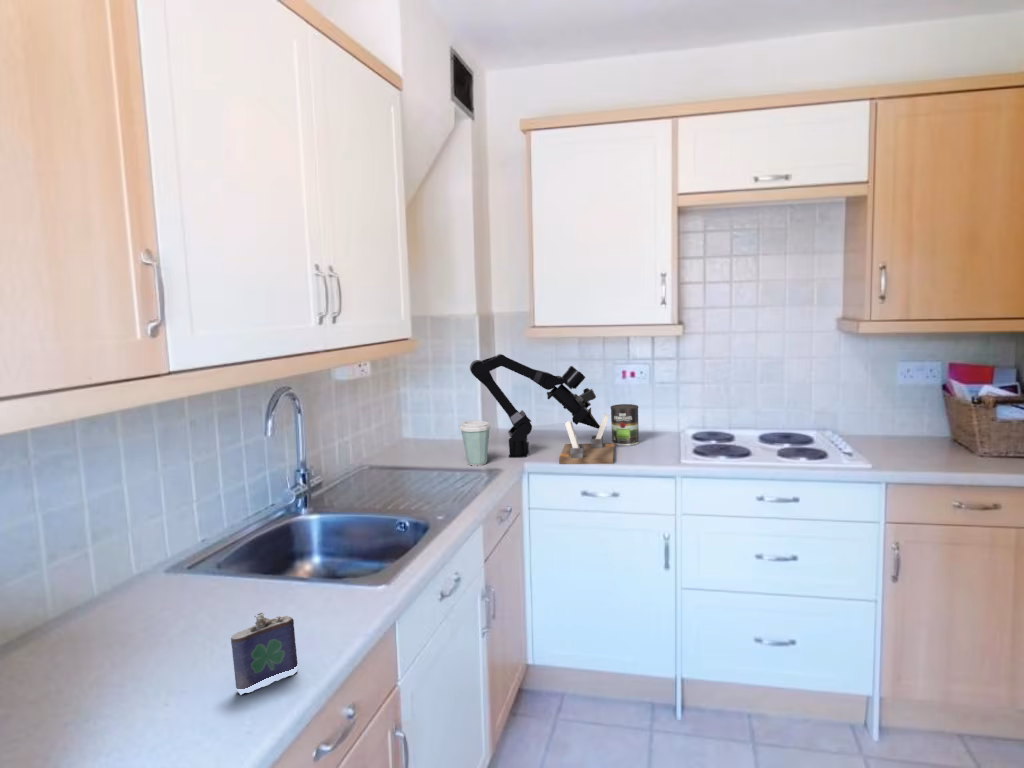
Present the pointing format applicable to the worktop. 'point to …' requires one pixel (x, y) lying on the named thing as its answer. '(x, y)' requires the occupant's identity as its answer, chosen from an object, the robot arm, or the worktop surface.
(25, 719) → the worktop surface
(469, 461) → the disposable coffee cup
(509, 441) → the robot arm
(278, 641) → the flask
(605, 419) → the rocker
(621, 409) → the coffee can
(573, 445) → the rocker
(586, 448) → the switch board
